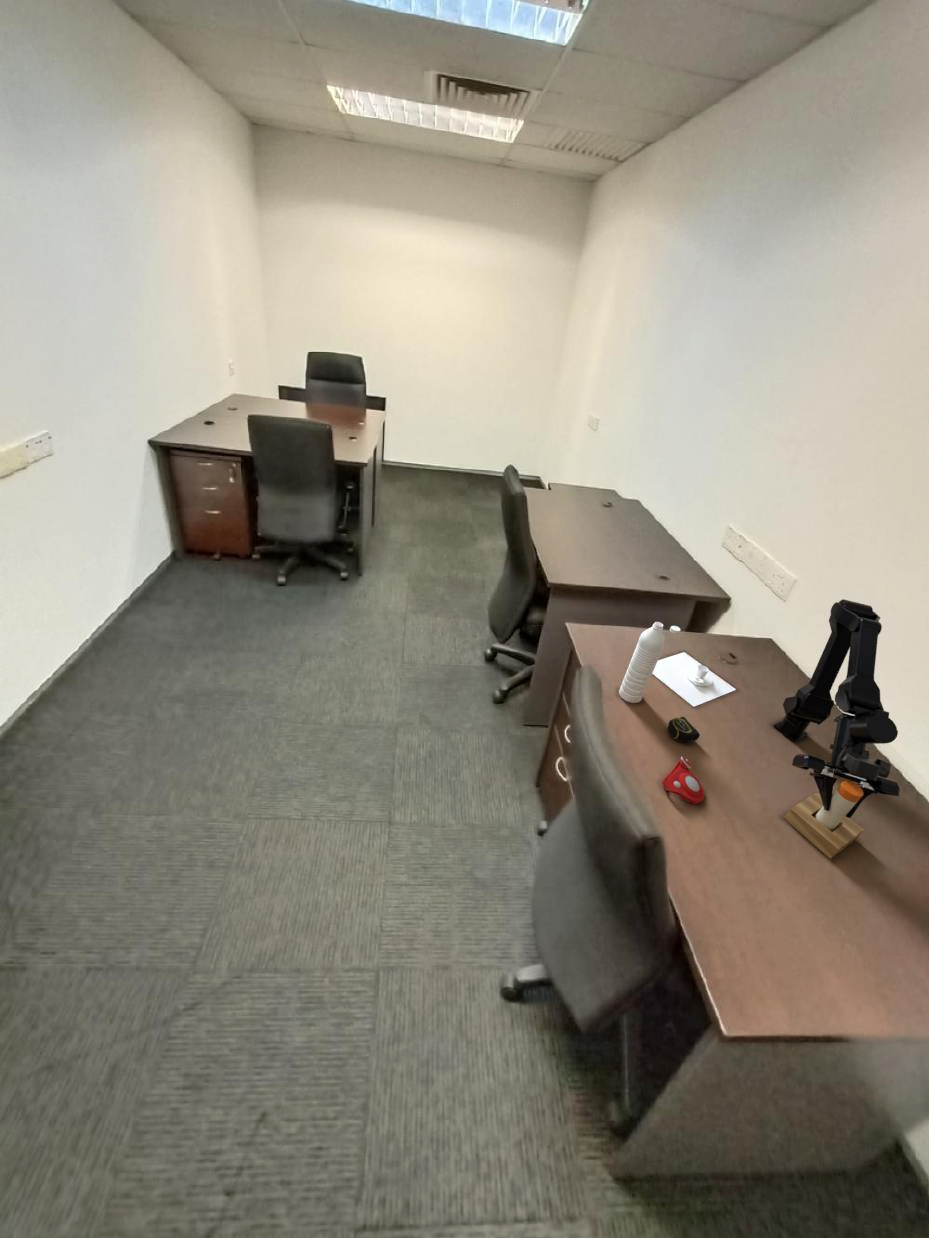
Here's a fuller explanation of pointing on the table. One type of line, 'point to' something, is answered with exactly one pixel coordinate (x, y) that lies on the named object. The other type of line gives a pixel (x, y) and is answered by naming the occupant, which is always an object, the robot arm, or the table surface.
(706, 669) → the teacup and saucer
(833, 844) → the holder
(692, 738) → the tape measure
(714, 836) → the table surface
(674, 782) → the tracker holder
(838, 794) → the glue stick
